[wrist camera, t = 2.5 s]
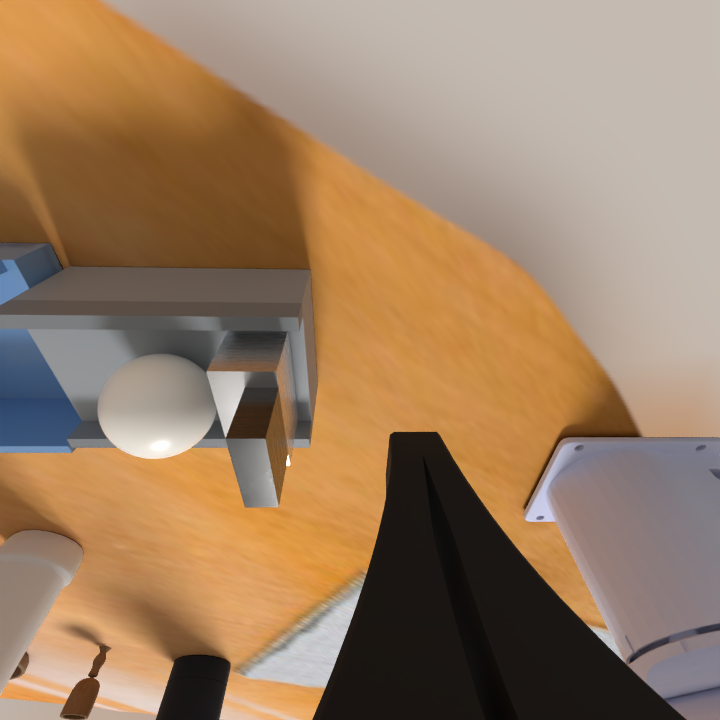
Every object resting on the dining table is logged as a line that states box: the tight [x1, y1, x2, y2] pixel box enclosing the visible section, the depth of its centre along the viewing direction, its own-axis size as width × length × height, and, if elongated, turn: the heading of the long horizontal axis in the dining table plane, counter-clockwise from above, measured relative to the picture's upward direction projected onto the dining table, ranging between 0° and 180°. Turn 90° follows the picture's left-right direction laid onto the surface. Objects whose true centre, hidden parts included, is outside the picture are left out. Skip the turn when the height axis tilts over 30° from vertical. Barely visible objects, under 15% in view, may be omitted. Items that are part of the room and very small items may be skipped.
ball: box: [97, 354, 217, 459], centre depth 12 cm, size 4×4×4 cm
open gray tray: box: [0, 266, 318, 448], centre depth 14 cm, size 10×6×4 cm, turn 89°
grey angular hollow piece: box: [206, 331, 298, 507], centre depth 12 cm, size 2×4×4 cm, turn 179°
